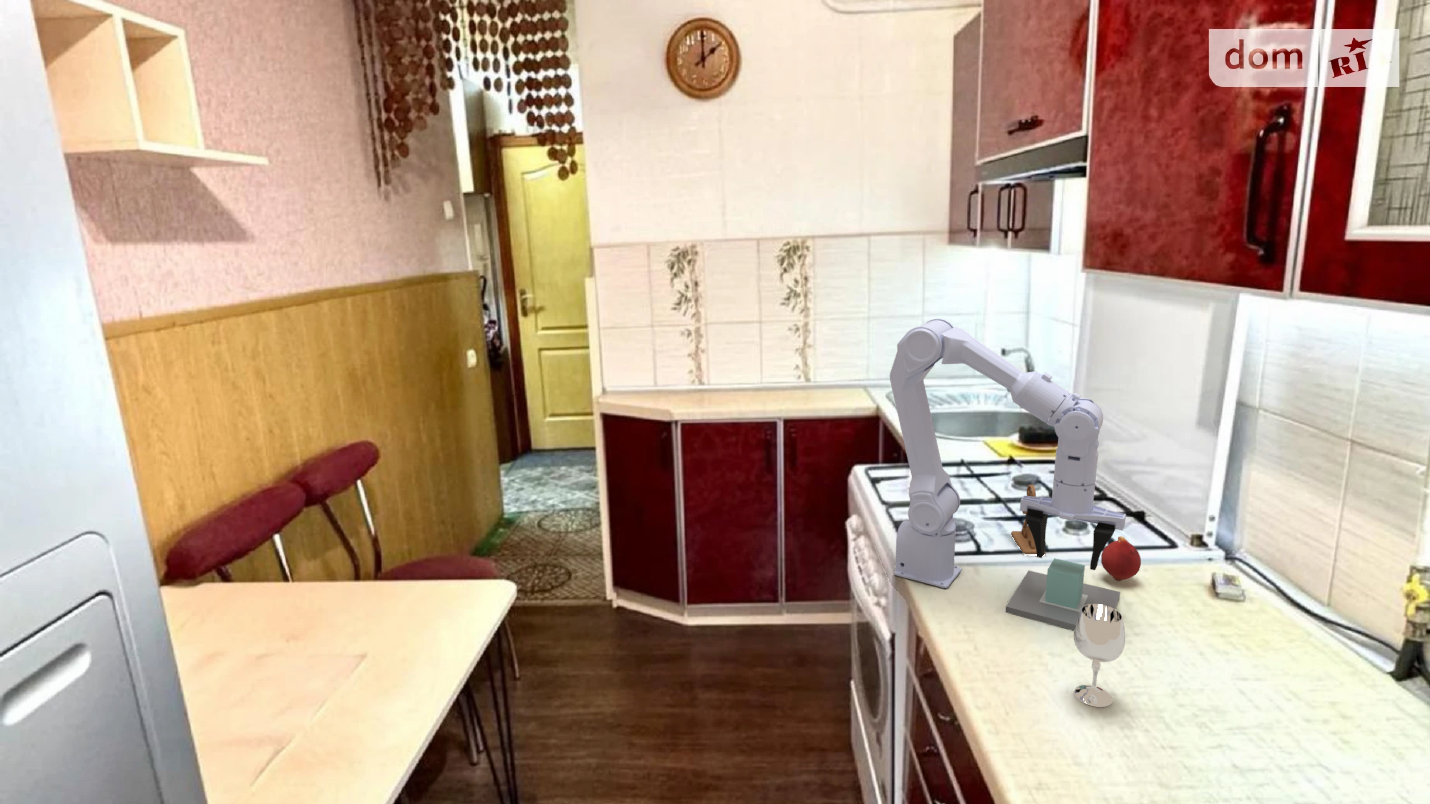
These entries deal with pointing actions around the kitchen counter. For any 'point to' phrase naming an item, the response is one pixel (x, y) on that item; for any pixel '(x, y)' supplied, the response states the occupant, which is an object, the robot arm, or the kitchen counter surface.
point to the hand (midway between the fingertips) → (1066, 561)
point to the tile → (1034, 606)
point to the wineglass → (1098, 646)
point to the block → (1064, 583)
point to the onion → (1121, 559)
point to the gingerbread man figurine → (1026, 531)
